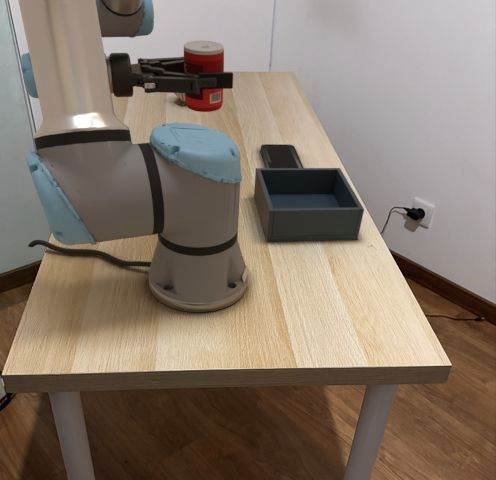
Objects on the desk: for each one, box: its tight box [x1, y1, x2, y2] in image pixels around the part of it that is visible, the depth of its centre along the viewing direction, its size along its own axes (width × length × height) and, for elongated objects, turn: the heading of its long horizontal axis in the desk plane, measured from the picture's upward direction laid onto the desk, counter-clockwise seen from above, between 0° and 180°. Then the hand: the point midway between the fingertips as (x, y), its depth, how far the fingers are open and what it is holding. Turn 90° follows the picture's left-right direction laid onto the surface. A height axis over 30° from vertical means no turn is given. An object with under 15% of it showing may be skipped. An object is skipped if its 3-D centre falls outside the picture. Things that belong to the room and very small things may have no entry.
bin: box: [253, 167, 365, 243], centre depth 99 cm, size 17×17×6 cm
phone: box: [260, 143, 304, 168], centre depth 118 cm, size 8×1×15 cm
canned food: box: [183, 40, 225, 113], centre depth 105 cm, size 8×8×11 cm
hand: (227, 73), depth 106 cm, fingers closed on canned food, 8 cm apart
